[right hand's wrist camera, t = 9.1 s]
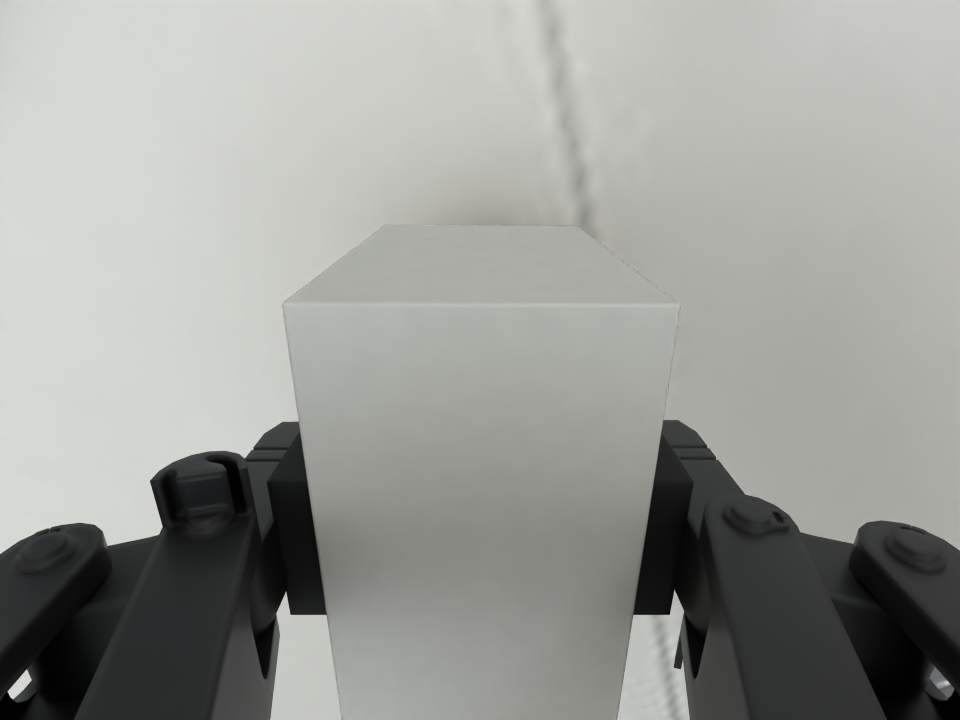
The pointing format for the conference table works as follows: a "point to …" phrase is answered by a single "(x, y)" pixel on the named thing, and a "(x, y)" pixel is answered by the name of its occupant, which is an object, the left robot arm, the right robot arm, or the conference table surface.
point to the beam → (480, 466)
